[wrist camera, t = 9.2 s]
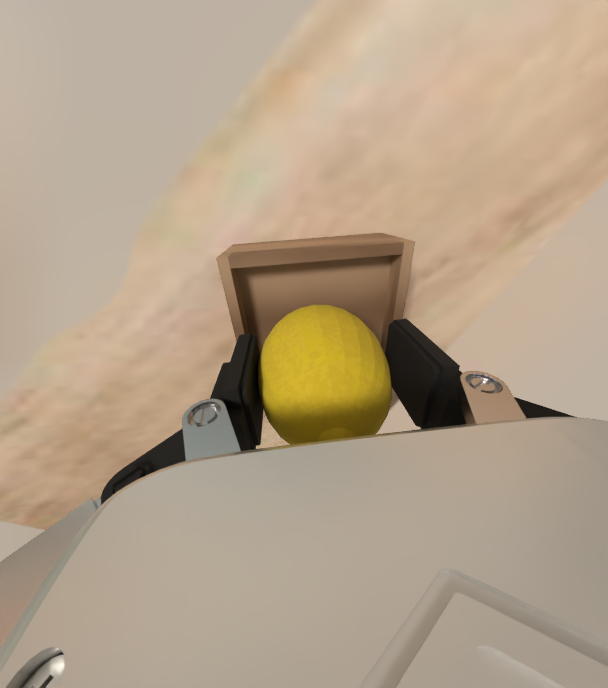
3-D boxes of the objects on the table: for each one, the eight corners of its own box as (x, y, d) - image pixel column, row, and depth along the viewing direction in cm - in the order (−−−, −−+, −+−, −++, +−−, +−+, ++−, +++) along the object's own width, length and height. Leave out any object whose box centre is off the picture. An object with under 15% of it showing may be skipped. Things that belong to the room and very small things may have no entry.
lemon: (377, 324, 14) (466, 439, 7) (314, 380, 16) (336, 515, 9) (309, 261, 12) (340, 338, 5) (246, 335, 14) (206, 464, 7)
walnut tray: (369, 355, 19) (390, 390, 15) (257, 366, 19) (252, 405, 15) (381, 232, 14) (414, 241, 11) (232, 244, 14) (216, 258, 10)
